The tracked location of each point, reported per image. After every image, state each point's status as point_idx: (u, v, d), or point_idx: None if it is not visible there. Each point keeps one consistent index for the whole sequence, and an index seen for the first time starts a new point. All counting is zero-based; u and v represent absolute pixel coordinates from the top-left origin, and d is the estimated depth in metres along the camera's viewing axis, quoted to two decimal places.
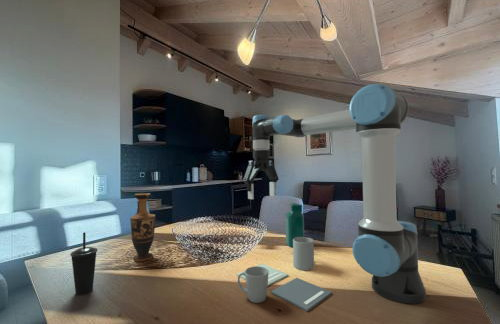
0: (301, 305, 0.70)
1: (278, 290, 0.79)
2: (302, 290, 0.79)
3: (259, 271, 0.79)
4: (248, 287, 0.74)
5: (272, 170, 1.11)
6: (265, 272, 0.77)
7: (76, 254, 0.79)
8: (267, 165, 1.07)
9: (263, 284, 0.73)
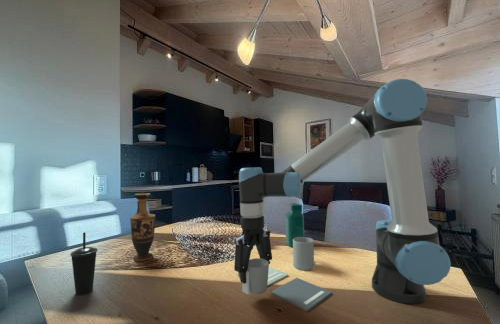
0: (301, 305, 0.70)
1: (278, 290, 0.79)
2: (302, 290, 0.79)
3: (260, 263, 0.78)
4: None
5: (266, 244, 0.80)
6: (265, 263, 0.77)
7: (76, 254, 0.79)
8: (261, 237, 0.76)
9: (263, 275, 0.73)
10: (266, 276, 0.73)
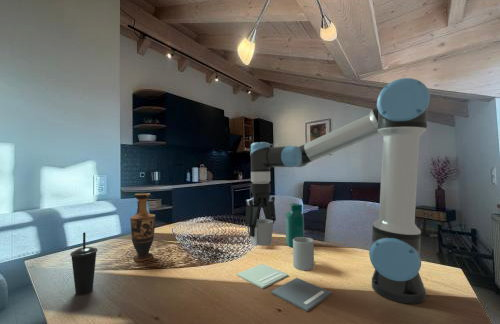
0: (301, 305, 0.70)
1: (278, 290, 0.79)
2: (302, 290, 0.79)
3: (265, 222, 0.94)
4: None
5: (271, 207, 0.95)
6: (270, 223, 0.93)
7: (76, 254, 0.79)
8: (267, 201, 0.92)
9: (269, 230, 0.88)
10: (271, 231, 0.89)
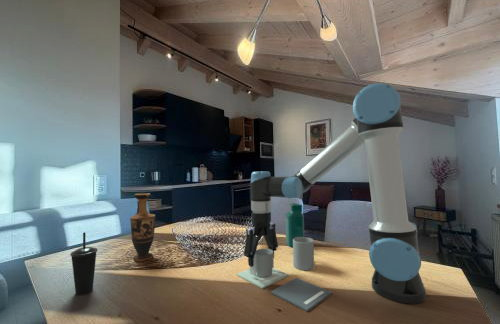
0: (301, 305, 0.70)
1: (278, 290, 0.79)
2: (302, 290, 0.79)
3: (265, 252, 0.94)
4: (257, 265, 0.89)
5: (272, 235, 0.95)
6: (270, 253, 0.93)
7: (76, 254, 0.79)
8: (268, 230, 0.92)
9: (269, 261, 0.88)
10: (271, 262, 0.89)
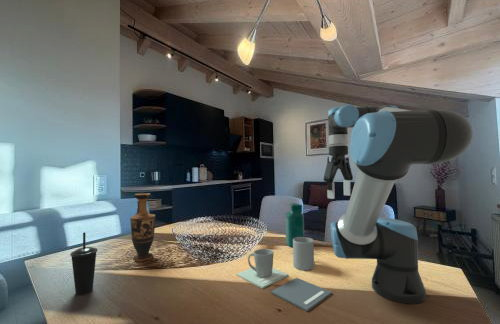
0: (301, 305, 0.70)
1: (278, 290, 0.79)
2: (302, 290, 0.79)
3: (266, 252, 0.94)
4: (257, 264, 0.89)
5: (347, 167, 1.04)
6: (271, 253, 0.93)
7: (76, 254, 0.79)
8: (345, 162, 0.99)
9: (269, 261, 0.88)
10: (271, 262, 0.89)
